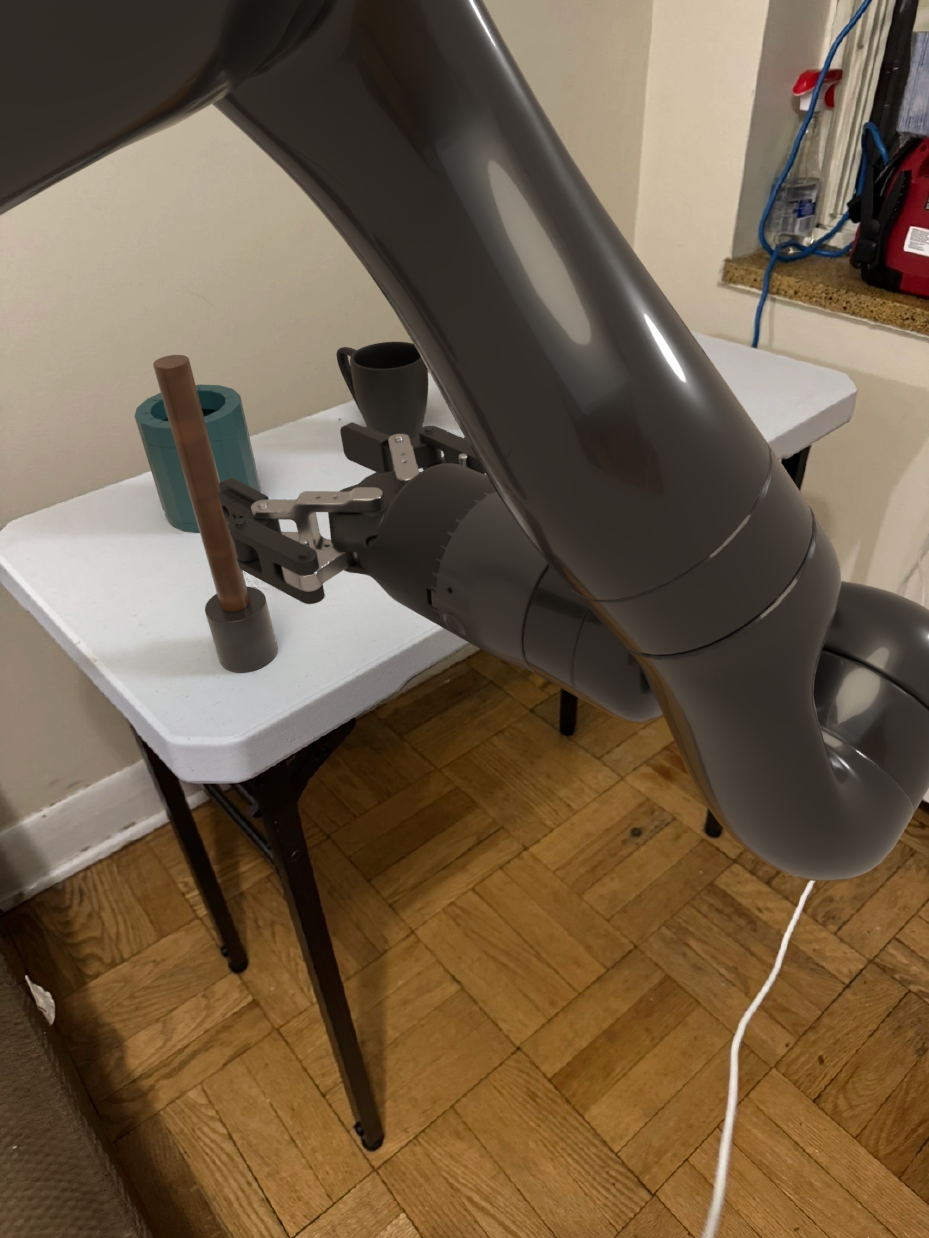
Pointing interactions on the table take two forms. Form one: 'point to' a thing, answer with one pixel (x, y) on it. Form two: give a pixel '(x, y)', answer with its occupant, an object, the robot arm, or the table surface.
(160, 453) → the jar
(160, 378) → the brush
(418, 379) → the mug
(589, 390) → the robot arm
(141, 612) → the table surface
